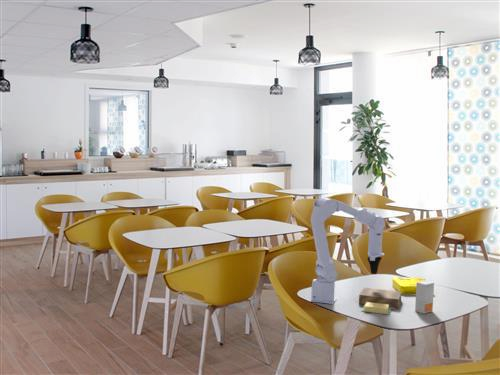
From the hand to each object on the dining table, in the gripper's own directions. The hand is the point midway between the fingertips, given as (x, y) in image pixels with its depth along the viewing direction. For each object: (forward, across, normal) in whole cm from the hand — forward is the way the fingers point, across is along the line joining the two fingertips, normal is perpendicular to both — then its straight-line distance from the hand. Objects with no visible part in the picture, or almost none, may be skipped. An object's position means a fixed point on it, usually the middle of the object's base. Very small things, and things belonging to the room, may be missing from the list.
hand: (374, 273), depth 241 cm
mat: (+10, -18, -4) cm, 21 cm away
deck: (+10, -7, -4) cm, 13 cm away
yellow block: (+8, -19, -4) cm, 21 cm away
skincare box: (+11, -12, -22) cm, 27 cm away
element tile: (+11, +19, -15) cm, 27 cm away
